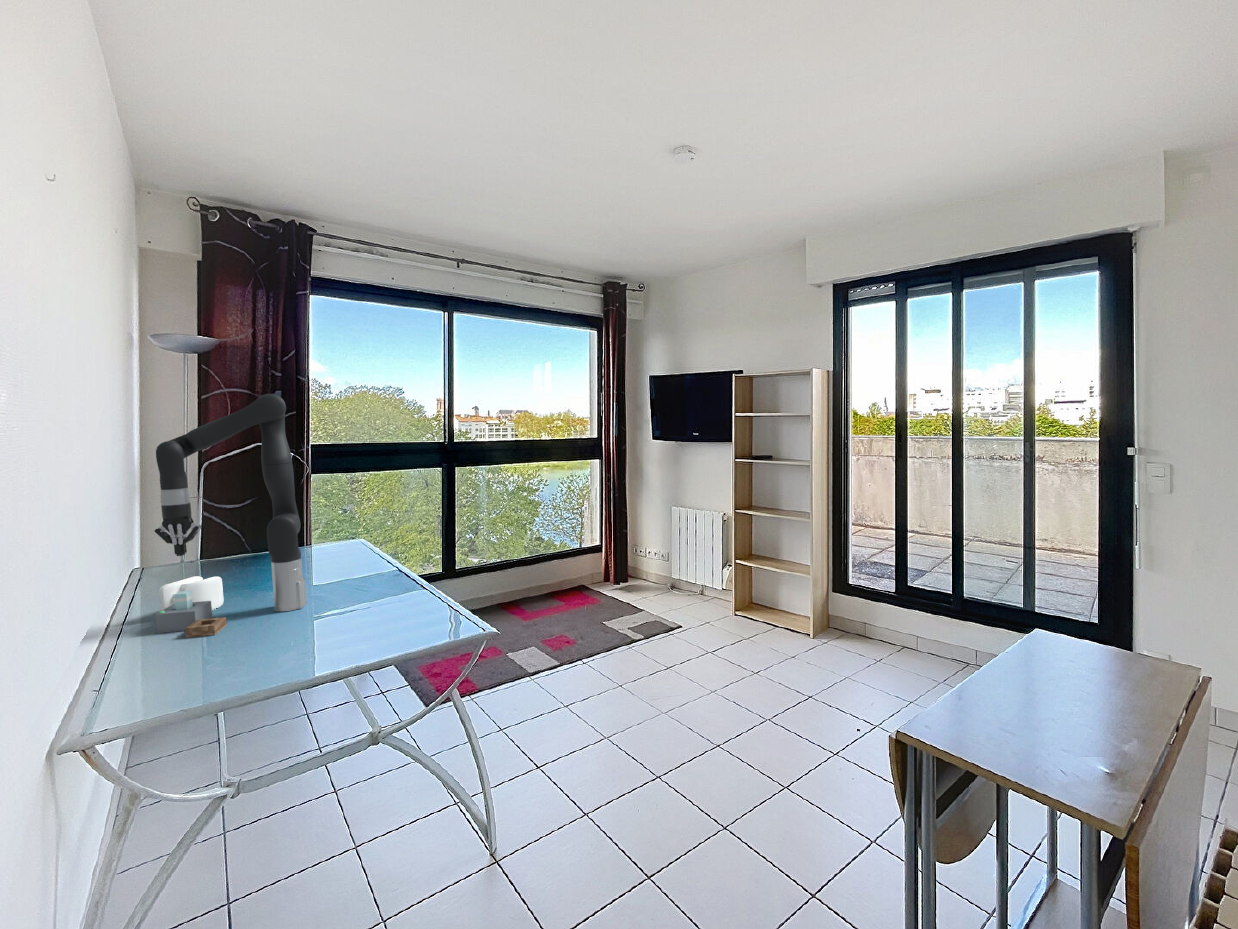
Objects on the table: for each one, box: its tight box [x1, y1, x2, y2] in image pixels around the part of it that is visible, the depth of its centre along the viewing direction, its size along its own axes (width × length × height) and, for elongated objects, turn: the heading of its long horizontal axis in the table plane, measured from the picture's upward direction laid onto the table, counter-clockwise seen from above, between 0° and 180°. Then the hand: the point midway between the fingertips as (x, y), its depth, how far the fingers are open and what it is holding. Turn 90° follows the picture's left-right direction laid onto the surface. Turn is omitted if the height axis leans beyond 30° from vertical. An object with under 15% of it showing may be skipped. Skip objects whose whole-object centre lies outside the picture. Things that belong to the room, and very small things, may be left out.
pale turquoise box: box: [174, 591, 193, 610], centre depth 188 cm, size 4×4×10 cm
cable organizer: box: [158, 575, 225, 612], centre depth 201 cm, size 15×11×12 cm
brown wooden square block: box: [184, 616, 227, 639], centre depth 182 cm, size 8×8×3 cm
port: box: [154, 601, 213, 634], centre depth 189 cm, size 11×11×6 cm
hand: (180, 555), depth 187 cm, fingers closed
